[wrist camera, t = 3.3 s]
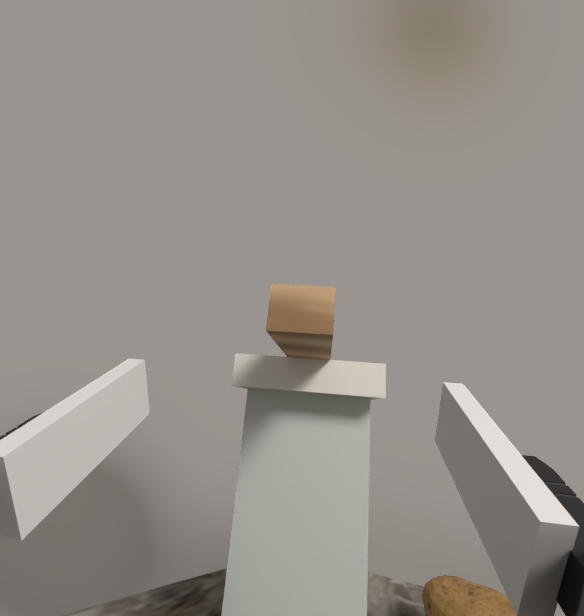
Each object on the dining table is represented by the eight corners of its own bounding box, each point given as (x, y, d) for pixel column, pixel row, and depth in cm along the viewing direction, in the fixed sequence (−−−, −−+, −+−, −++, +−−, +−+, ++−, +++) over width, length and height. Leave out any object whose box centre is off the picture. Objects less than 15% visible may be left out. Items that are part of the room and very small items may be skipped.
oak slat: (332, 334, 19) (335, 286, 20) (266, 330, 20) (271, 283, 21) (328, 376, 48) (329, 355, 49) (301, 374, 48) (302, 354, 49)
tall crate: (383, 824, 21) (385, 363, 30) (180, 777, 23) (235, 353, 31) (356, 626, 40) (362, 379, 49) (246, 608, 42) (269, 372, 50)
